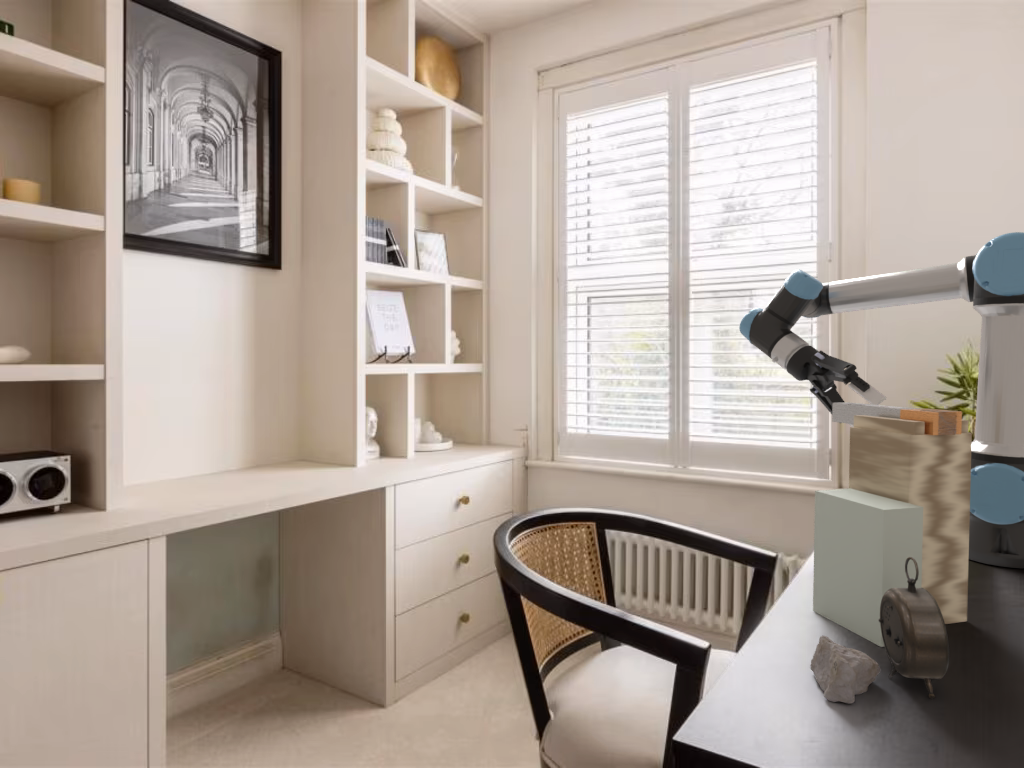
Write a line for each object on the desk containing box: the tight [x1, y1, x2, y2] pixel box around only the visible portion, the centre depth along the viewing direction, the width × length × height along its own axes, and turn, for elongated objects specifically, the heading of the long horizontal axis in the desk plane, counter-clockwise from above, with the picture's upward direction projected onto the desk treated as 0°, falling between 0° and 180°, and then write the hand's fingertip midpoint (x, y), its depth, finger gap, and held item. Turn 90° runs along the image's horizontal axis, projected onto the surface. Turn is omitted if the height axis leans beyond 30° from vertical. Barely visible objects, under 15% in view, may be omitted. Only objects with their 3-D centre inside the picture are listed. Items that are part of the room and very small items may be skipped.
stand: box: [848, 415, 973, 625], centre depth 107 cm, size 12×12×32 cm
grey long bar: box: [831, 401, 963, 435], centre depth 110 cm, size 6×22×4 cm, turn 15°
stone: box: [810, 635, 881, 704], centre depth 82 cm, size 10×8×6 cm
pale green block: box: [812, 488, 923, 648], centre depth 101 cm, size 7×14×20 cm, turn 15°
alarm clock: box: [879, 557, 950, 700], centre depth 84 cm, size 11×5×16 cm, turn 168°
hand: (877, 419), depth 131 cm, fingers open, 13 cm apart
